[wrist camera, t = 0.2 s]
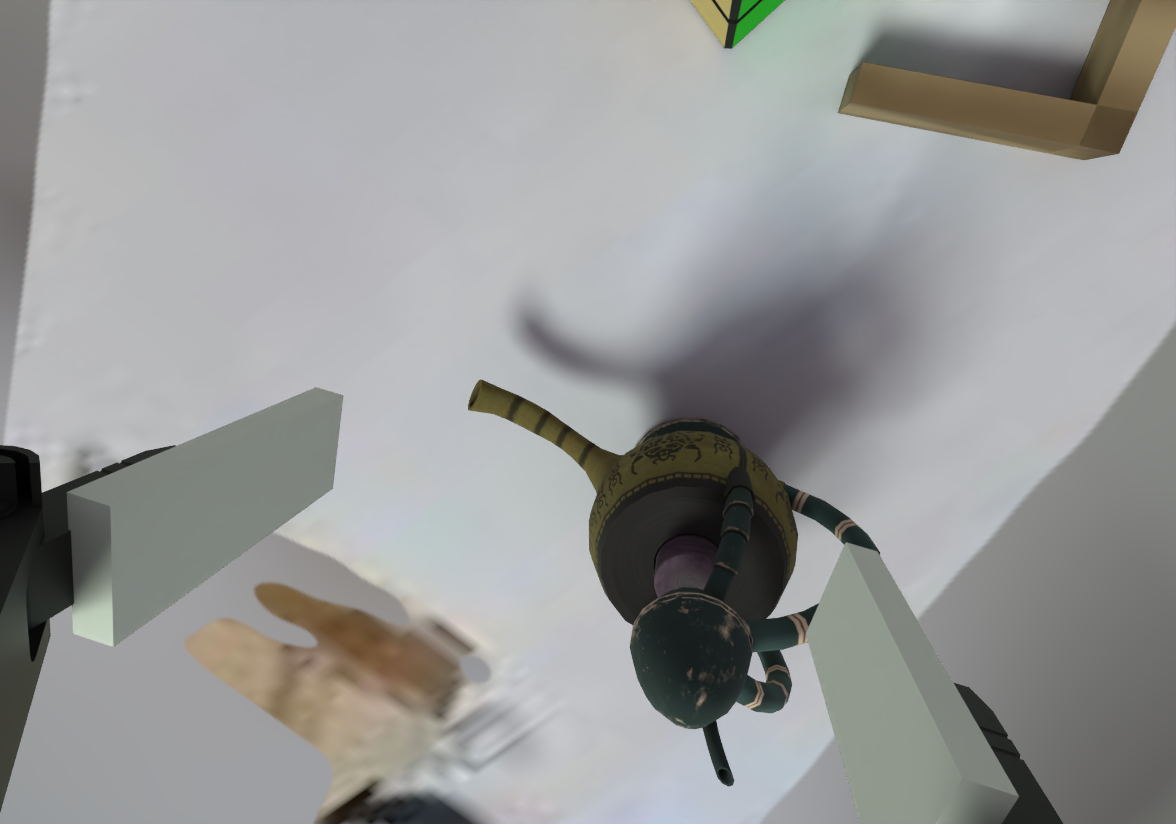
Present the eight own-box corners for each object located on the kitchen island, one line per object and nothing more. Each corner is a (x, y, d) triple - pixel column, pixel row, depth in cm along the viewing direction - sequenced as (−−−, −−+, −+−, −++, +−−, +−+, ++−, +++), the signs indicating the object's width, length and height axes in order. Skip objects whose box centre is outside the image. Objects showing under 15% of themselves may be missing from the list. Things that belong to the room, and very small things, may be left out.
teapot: (755, 596, 46) (815, 933, 24) (464, 442, 46) (257, 635, 24) (847, 467, 42) (1021, 728, 20) (528, 300, 42) (350, 375, 20)
